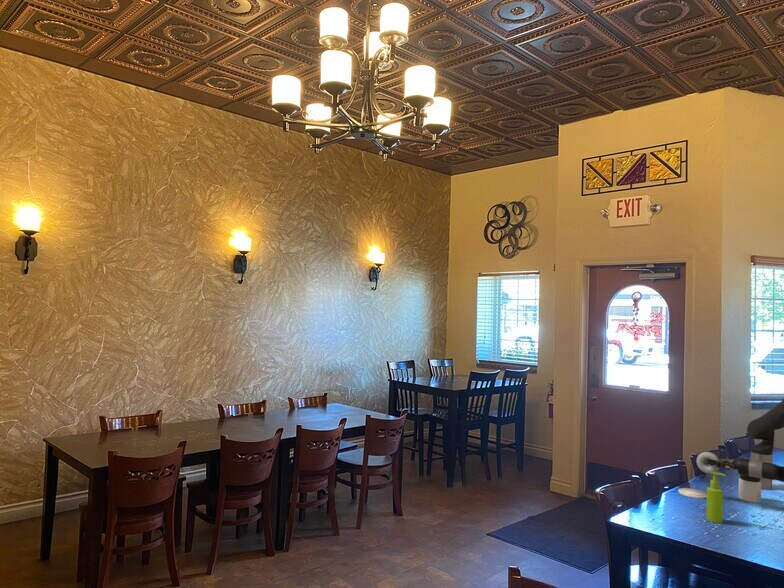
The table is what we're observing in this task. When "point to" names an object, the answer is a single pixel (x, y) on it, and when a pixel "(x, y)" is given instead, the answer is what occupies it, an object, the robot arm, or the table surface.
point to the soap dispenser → (714, 500)
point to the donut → (701, 462)
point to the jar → (750, 489)
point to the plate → (693, 493)
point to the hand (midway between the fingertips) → (708, 460)
